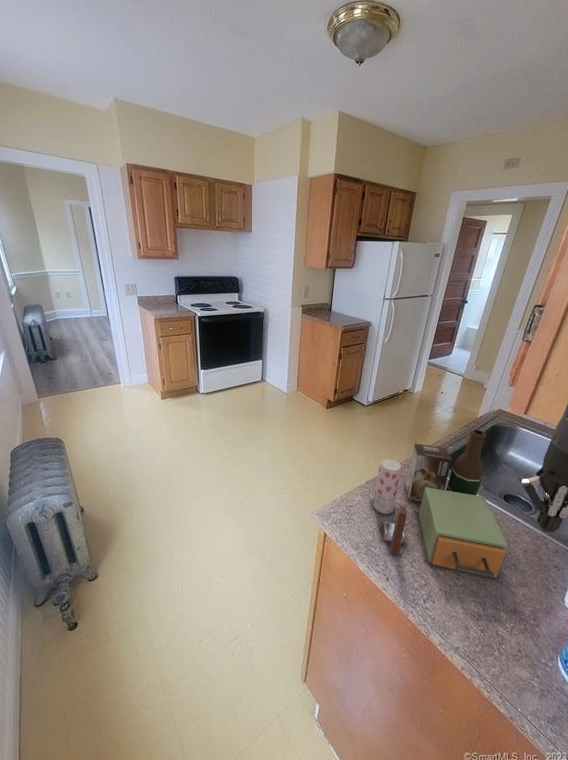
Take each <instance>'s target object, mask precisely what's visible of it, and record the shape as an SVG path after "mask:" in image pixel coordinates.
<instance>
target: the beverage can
mask: <svg viewBox="0 0 568 760" xmlns="http://www.w3.org/2000/svg"><path fill="white" fill-rule="evenodd" d="M401 472H402V465H401V463H400V462H399V461H398V460H395V459H394V458H389V457H387V458H383V459H382V460H381V461H380V463H379V466H378V472H377V479H376V485H375V490H374V496H373V501H372V505H373V508H374V509H375V510H376V511H377V512H379V513H381V514H384V515H385V514H386V515H387V514H390V513H392V512H393V511H394V508H395V503H396V498H397V493H398V488H399V483H400V478H401V474H402V473H401Z"/></svg>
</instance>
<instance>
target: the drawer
mask: <svg viewBox="0 0 568 760" xmlns="http://www.w3.org/2000/svg"><path fill="white" fill-rule="evenodd" d="M506 552H507V551H506ZM506 552H505V550H504V548H499V547H497V546H492V545H487V544H482V543H477V542H472V541H467V540H461V539H456V538H451V537H446V536H441V535H439V536H438V540H437V543H436V547H435V551H434V554H433V558H432V563H431V564H432V565H434V566H438V567H443V568H448V569H451V570H455V572H456V573H460V574H465V575H469V576H474V577H479V578H483V579H489V580H492V581H493V580H494V579H496V578H497V577H498V574H499V572H500V570H501V567H502V565H503V561H504V559H505V556H506V554H507V553H506Z"/></svg>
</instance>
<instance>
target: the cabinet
mask: <svg viewBox="0 0 568 760" xmlns="http://www.w3.org/2000/svg"><path fill="white" fill-rule="evenodd" d="M418 517H419V523H420V528H421V531H422V537H423V541H424V546H425V547H424V548H425V552H426V557H427V562H428V563H431V564H433V563H432V558H433V554H434V551H435V547H436V543H437V540H438V536H439V535H441V536H446V537H451V538H456V539H461V540H467V541H472V542H477V543H482V544H487V545H492V546H497V547H499V548H504V550H505V552H507V549H508V547H509V544H508V543H507V541H506V538H505V537H504V535H503V533H502V531H501V528H500V526H499V524H498V523H497V520H496V518H495V517H494V514H493V512H492V511H491V508H490V506H489V504H488V502H487V499H486V497H485V496H481V495H470V494H464V493H458V492H452V491H446V489H445V490H440V489H434V488H428V487H425V490H424V494H423V498H422V502H420V507H419V511H418Z"/></svg>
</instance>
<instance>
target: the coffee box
mask: <svg viewBox="0 0 568 760" xmlns="http://www.w3.org/2000/svg"><path fill="white" fill-rule="evenodd" d="M452 461H453V460H452V457H451V455H450V452H449V451H448V449H447V447H442V446H435V445H427V444H422V443H421V444H420V443H414V446H413V451H412V456H411V462H410V467H409V472H408V477H407V483H406V490H407V495H408V500H409V501H413V502H420V503H422V498H423V494H424V490H425V487H428V488H434V489H440V490H446V487H447V483H448V482H447V481H448V477H449V473H450V469H451V465H452Z"/></svg>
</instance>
